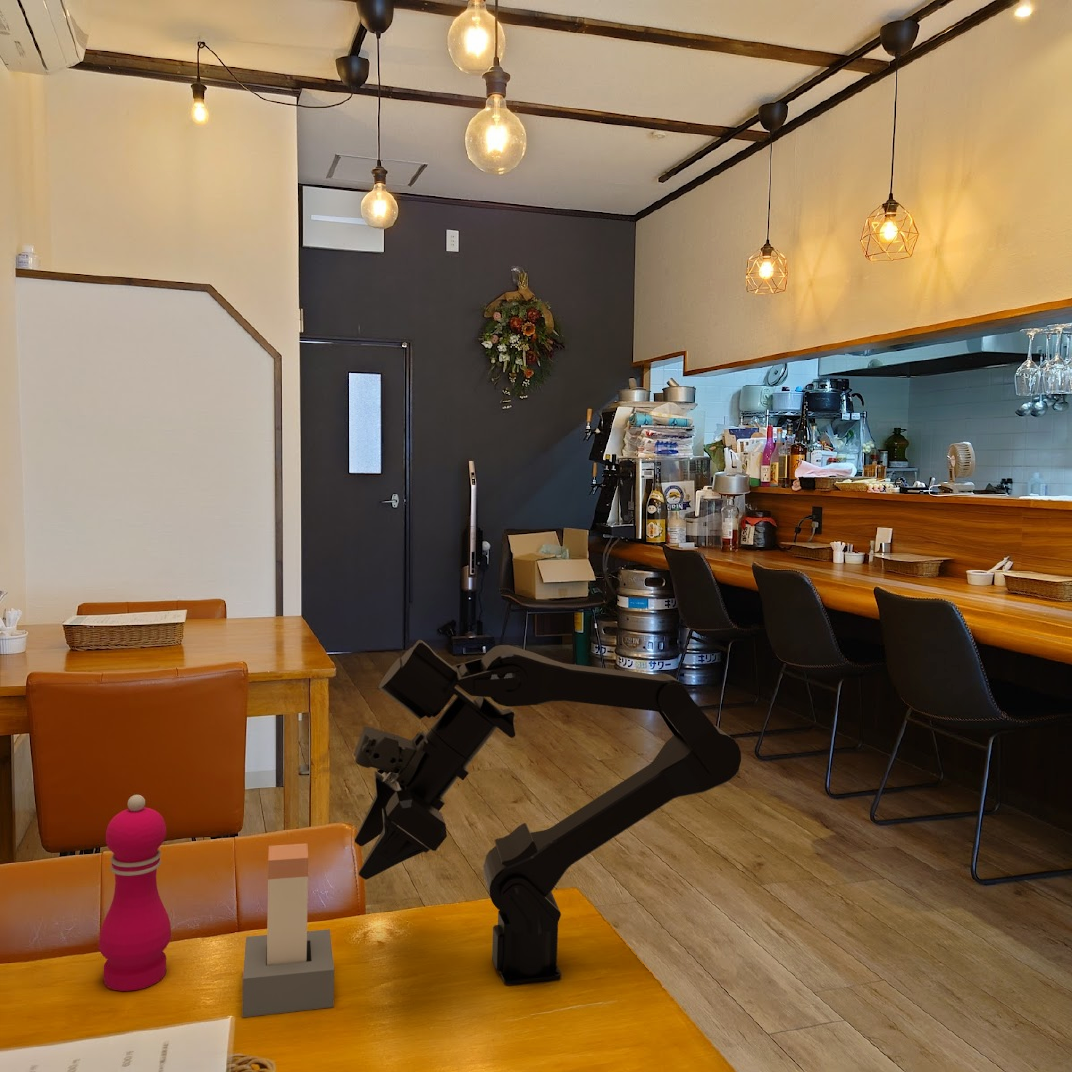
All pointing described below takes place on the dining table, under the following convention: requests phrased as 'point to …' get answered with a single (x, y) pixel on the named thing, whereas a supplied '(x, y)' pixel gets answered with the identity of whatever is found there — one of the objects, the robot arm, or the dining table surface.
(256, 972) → the socket block
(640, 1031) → the dining table surface
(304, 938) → the plug
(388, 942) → the dining table surface
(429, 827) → the robot arm
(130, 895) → the pepper mill
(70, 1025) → the dining table surface
